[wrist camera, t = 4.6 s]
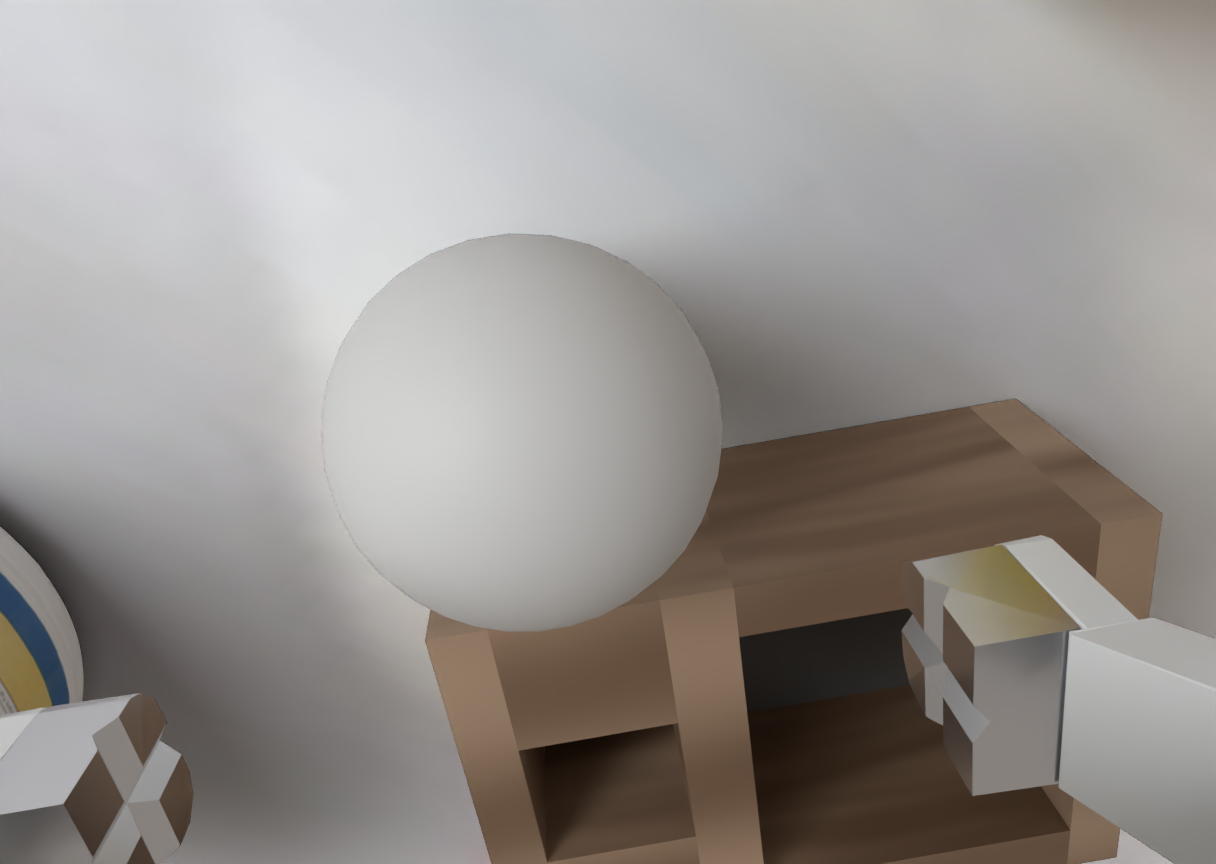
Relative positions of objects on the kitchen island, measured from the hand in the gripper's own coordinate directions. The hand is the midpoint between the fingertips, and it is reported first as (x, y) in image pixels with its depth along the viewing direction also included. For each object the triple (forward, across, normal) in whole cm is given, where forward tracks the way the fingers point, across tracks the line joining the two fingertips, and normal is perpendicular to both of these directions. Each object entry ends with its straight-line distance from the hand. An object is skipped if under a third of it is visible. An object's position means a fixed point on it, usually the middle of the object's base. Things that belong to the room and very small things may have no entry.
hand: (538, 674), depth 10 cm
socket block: (+13, -4, +9) cm, 17 cm away
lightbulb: (+13, 0, -1) cm, 13 cm away
